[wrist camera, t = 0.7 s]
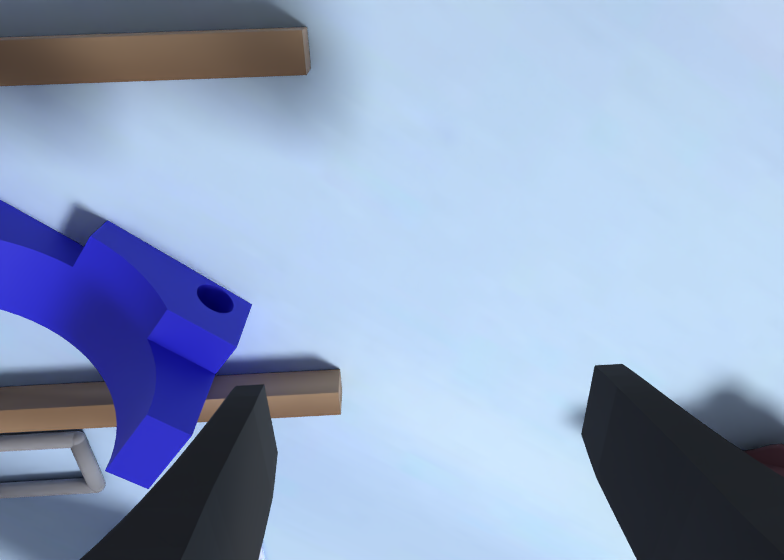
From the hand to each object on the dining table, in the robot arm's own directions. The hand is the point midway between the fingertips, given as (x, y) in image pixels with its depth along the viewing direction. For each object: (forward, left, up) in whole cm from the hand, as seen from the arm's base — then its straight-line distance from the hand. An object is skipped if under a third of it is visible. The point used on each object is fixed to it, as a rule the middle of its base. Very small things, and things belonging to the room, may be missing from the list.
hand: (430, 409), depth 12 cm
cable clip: (-1, +12, -10) cm, 16 cm away
